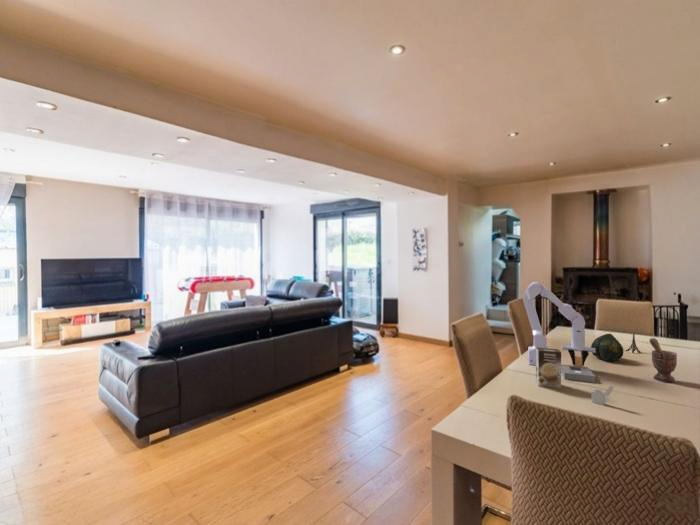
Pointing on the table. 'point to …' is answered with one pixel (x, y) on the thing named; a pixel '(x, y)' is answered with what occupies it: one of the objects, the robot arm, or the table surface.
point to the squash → (607, 348)
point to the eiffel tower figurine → (633, 345)
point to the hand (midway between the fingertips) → (578, 365)
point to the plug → (578, 361)
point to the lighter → (600, 395)
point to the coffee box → (548, 367)
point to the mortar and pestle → (663, 362)
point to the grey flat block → (577, 373)
